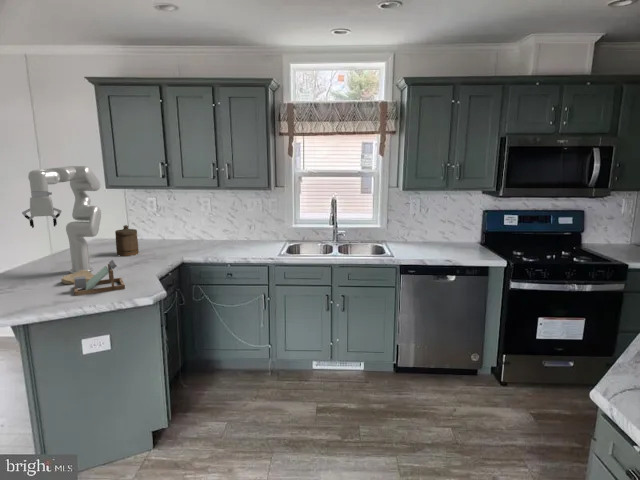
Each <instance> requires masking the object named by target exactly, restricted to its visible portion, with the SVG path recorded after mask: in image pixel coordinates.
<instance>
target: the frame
mask: <svg viewBox="0 0 640 480" xmlns="http://www.w3.org/2000/svg"><path fill="white" fill-rule="evenodd" d="M107 268H108V271H109V273H108V279H101V280H100V281H99V282H98V283H97V284H96V285H95V286H97V285H105V284H111V286H107V287H106V286H104V287H98V288H91V289H89V290H86V289H83V290H78V288H77V289H75V284H73V286H74V296H75V297H76V296H84V295H90V294H96V293H97V294H98V293H103V292H104V293H105V292H111V291H112V292H113V291H121V290H125V289H126V286H125V283H124V280H123V278H122V277H115V278H114V269H112V268H111V266H110V264H109V263H107ZM115 283H119V284H120V285H119V284H118V285H115Z"/></svg>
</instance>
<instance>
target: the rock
mask: <svg viewBox="0 0 640 480" xmlns="http://www.w3.org/2000/svg"><path fill="white" fill-rule="evenodd" d="M94 275H95V274H93V273H92V271H91V272H89V271H87V270H80V271H78V272H76V273H73V274H72V273H68V275H63V277H62V278H61V283H63V284H65V285H74V284H75V280H74V277H82V276H85V278H86V282H87V281H89V280H90V279H91V278H92V277H93V276H94Z"/></svg>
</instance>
